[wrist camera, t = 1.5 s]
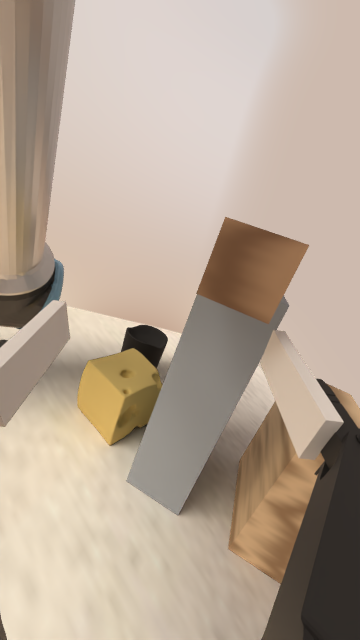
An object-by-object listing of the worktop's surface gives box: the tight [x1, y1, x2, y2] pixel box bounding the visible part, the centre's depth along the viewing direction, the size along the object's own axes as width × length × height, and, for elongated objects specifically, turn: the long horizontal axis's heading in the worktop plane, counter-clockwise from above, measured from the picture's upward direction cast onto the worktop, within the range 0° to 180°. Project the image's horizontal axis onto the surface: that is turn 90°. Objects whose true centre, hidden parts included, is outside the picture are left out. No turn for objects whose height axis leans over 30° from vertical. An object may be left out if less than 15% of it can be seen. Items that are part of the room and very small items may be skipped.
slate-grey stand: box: [126, 294, 289, 515], centre depth 33 cm, size 8×14×30 cm, turn 159°
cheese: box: [77, 348, 162, 445], centre depth 41 cm, size 10×11×10 cm
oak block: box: [228, 384, 360, 584], centre depth 31 cm, size 8×14×20 cm, turn 160°
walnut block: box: [197, 217, 309, 324], centre depth 23 cm, size 4×25×4 cm, turn 160°
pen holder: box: [121, 325, 168, 368], centre depth 54 cm, size 9×9×10 cm
